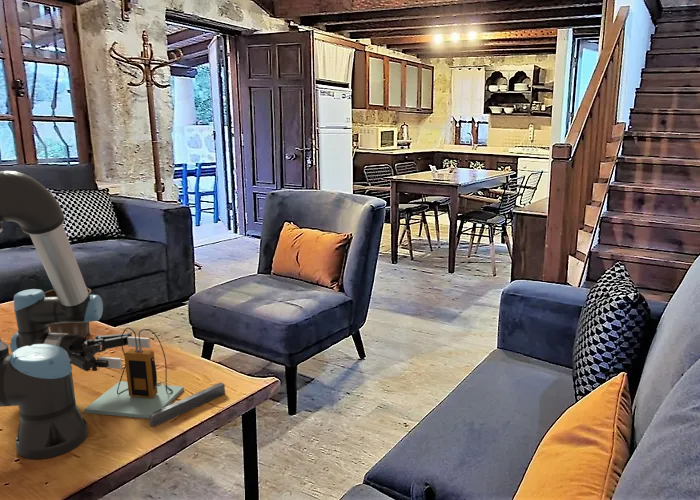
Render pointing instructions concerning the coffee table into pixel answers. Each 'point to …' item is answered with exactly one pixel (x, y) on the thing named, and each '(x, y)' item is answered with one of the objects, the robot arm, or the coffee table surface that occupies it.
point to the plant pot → (68, 327)
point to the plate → (132, 401)
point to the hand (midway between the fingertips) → (135, 352)
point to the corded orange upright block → (141, 371)
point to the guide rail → (186, 404)
